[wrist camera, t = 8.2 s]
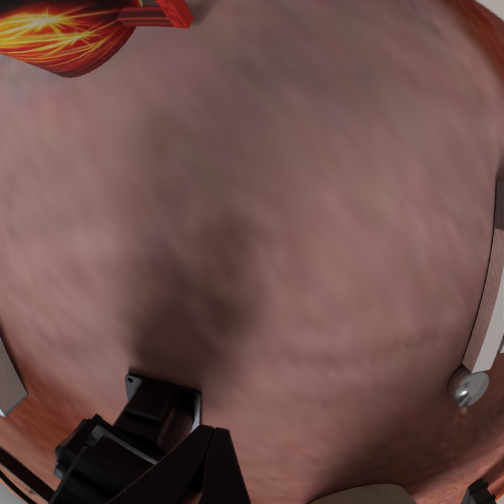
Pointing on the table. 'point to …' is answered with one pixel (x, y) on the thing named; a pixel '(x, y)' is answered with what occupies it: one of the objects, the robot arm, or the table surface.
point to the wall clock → (23, 481)
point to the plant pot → (369, 495)
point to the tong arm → (484, 322)
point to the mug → (79, 30)
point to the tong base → (501, 345)
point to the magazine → (478, 494)
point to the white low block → (9, 384)
